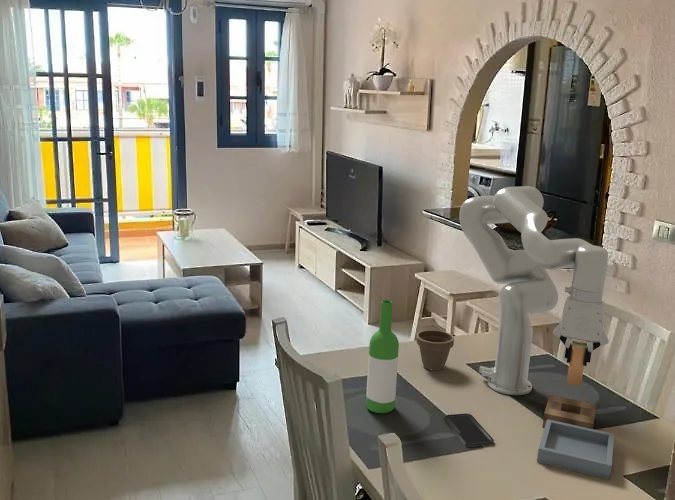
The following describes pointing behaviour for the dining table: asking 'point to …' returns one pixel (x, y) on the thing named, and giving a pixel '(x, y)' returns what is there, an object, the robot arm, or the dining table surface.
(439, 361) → the flower pot
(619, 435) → the dining table surface
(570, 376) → the peg
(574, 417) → the pin block
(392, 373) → the wine bottle
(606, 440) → the tray
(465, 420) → the phone
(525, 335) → the robot arm
